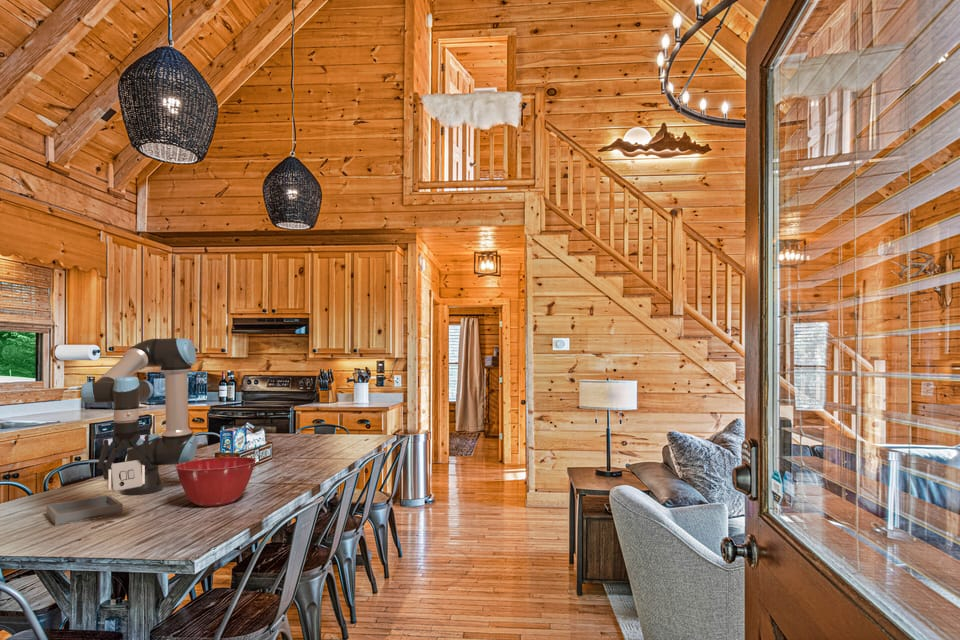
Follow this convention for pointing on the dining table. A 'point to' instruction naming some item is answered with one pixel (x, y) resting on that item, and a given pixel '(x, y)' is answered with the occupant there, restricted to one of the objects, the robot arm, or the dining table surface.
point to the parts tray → (84, 509)
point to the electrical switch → (126, 475)
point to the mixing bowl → (215, 479)
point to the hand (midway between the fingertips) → (125, 486)
